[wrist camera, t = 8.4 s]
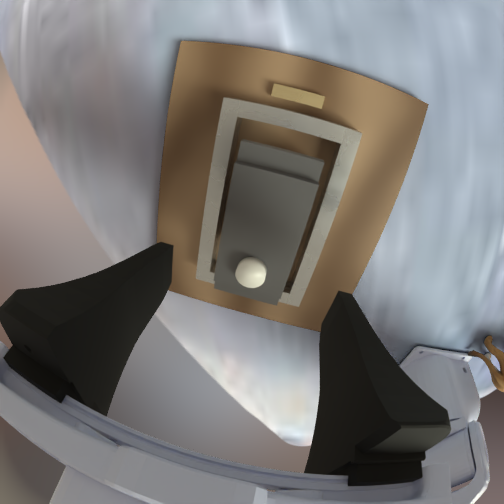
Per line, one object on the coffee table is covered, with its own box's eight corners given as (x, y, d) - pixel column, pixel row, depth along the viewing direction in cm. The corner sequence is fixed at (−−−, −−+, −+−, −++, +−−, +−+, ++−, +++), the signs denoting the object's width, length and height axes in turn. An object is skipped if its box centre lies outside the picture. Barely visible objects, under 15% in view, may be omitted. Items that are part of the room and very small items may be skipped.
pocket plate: (422, 103, 14) (438, 105, 12) (329, 326, 25) (330, 346, 23) (187, 43, 15) (171, 37, 12) (160, 279, 25) (149, 296, 23)
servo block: (319, 147, 16) (326, 168, 11) (282, 265, 21) (274, 317, 16) (256, 130, 16) (235, 144, 12) (230, 251, 21) (208, 299, 16)
